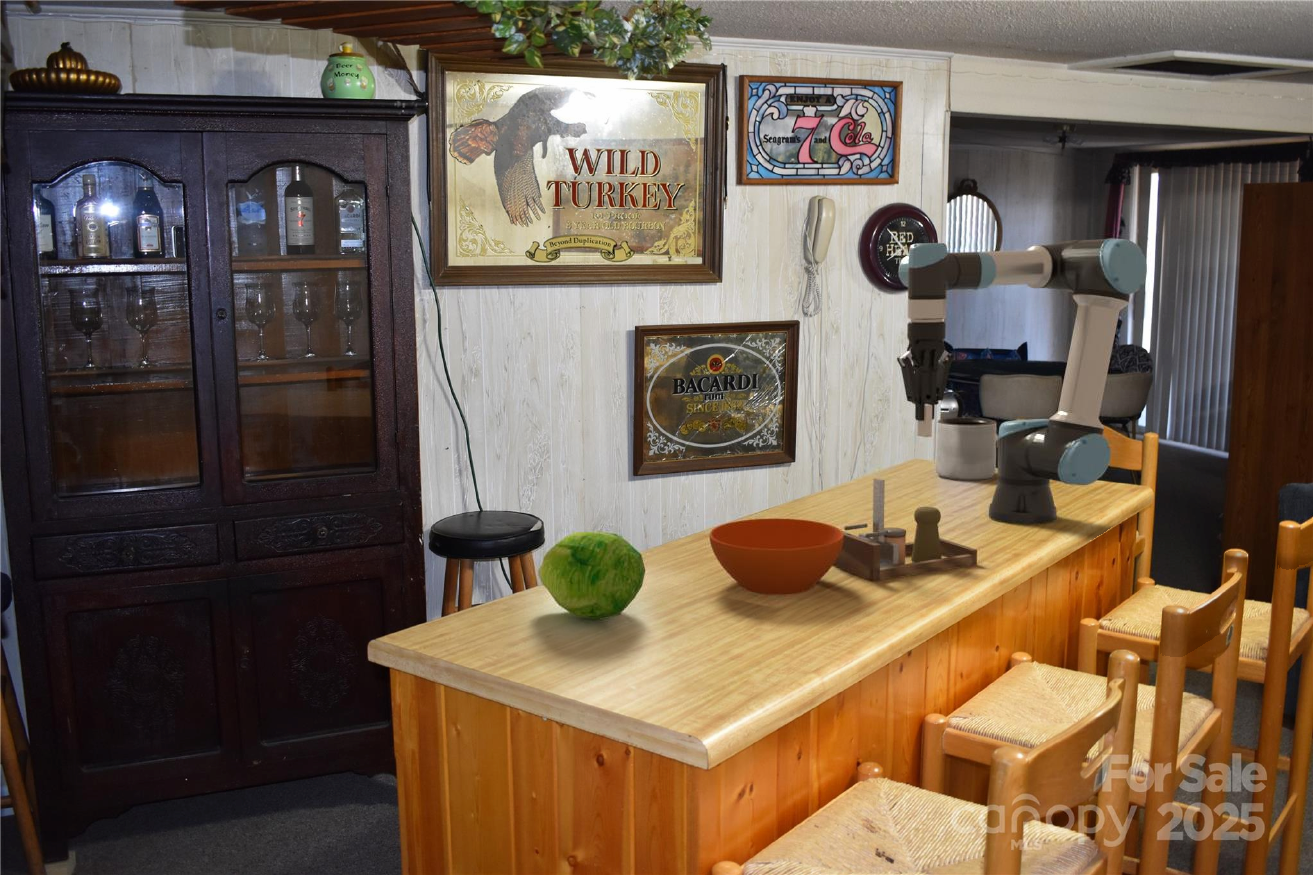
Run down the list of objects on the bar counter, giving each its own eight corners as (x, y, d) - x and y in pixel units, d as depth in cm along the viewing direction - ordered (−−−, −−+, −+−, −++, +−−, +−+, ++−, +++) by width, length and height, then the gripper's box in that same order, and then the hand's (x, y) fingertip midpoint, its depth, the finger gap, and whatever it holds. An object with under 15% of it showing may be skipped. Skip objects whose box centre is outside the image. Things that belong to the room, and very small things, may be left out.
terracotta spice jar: (894, 561, 232) (895, 526, 230) (911, 567, 227) (911, 531, 226) (873, 564, 229) (874, 529, 228) (889, 570, 225) (890, 534, 224)
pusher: (863, 559, 232) (864, 474, 229) (898, 572, 222) (899, 483, 219) (858, 560, 232) (859, 475, 229) (893, 573, 221) (894, 484, 219)
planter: (938, 481, 313) (939, 425, 311) (933, 470, 329) (934, 417, 327) (998, 482, 311) (1000, 425, 308) (991, 471, 326) (993, 417, 324)
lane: (930, 548, 241) (931, 509, 240) (976, 564, 228) (977, 523, 227) (830, 564, 230) (830, 523, 229) (873, 581, 218) (873, 538, 216)
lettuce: (580, 607, 212) (579, 526, 212) (664, 616, 199) (662, 529, 199) (514, 619, 199) (512, 532, 199) (599, 630, 186) (597, 537, 186)
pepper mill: (942, 565, 228) (943, 511, 227) (911, 564, 229) (912, 510, 228) (941, 557, 234) (942, 504, 232) (911, 556, 235) (911, 503, 234)
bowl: (755, 612, 200) (755, 556, 199) (686, 578, 222) (685, 528, 221) (871, 590, 212) (871, 538, 210) (794, 561, 234) (794, 512, 232)
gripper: (940, 318, 237) (938, 431, 241) (888, 321, 232) (887, 436, 236) (964, 320, 231) (961, 435, 234) (912, 322, 225) (910, 441, 229)
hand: (924, 436), depth 235 cm, fingers closed
